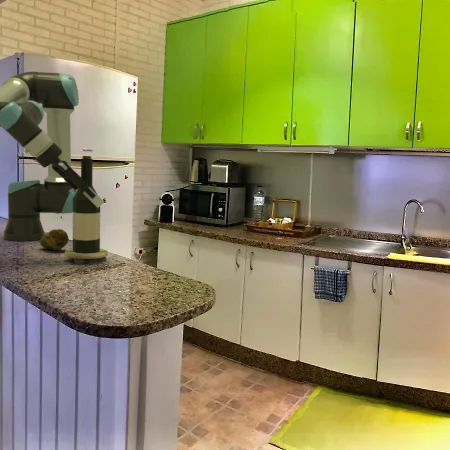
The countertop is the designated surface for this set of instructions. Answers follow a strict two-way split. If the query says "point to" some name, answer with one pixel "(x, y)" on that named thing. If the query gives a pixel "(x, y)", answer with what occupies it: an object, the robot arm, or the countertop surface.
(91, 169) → the wine bottle
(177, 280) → the countertop surface
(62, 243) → the potato
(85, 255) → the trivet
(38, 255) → the countertop surface
